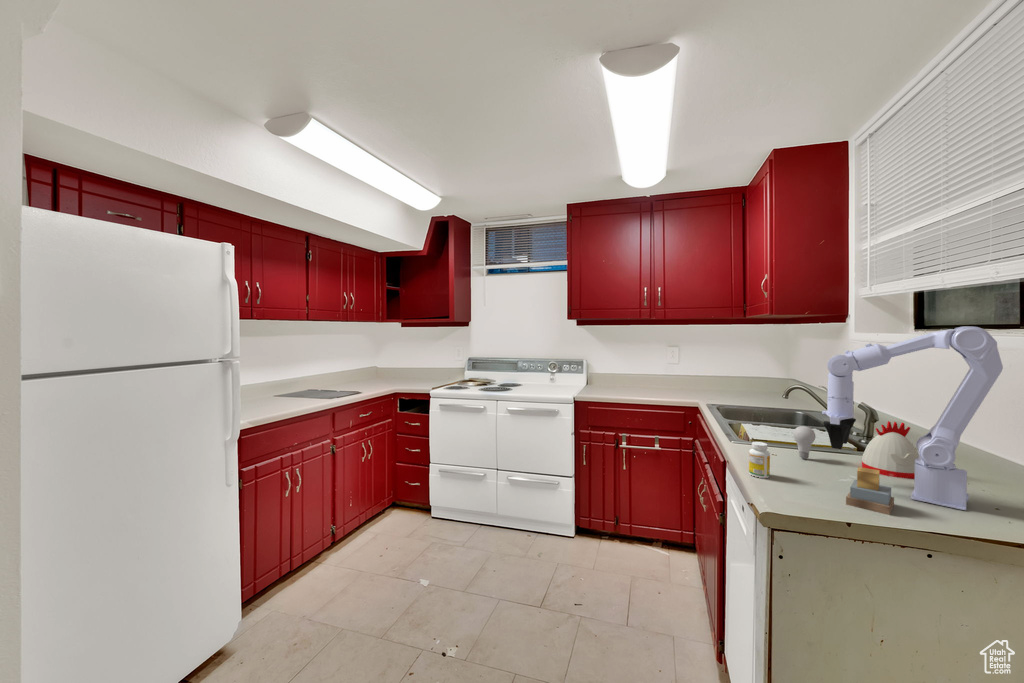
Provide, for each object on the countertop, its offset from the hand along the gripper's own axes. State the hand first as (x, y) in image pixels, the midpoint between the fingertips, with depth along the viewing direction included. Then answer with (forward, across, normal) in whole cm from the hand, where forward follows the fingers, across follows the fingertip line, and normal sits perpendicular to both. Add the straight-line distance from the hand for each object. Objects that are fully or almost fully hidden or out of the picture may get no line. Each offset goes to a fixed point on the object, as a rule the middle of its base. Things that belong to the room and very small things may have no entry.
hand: (839, 445), depth 117 cm
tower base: (+11, +13, +8) cm, 19 cm away
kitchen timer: (+11, -23, +9) cm, 27 cm away
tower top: (+9, +13, +8) cm, 17 cm away
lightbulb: (+11, -17, -12) cm, 24 cm away
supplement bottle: (+11, +10, -17) cm, 22 cm away
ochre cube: (+6, +13, +8) cm, 16 cm away
